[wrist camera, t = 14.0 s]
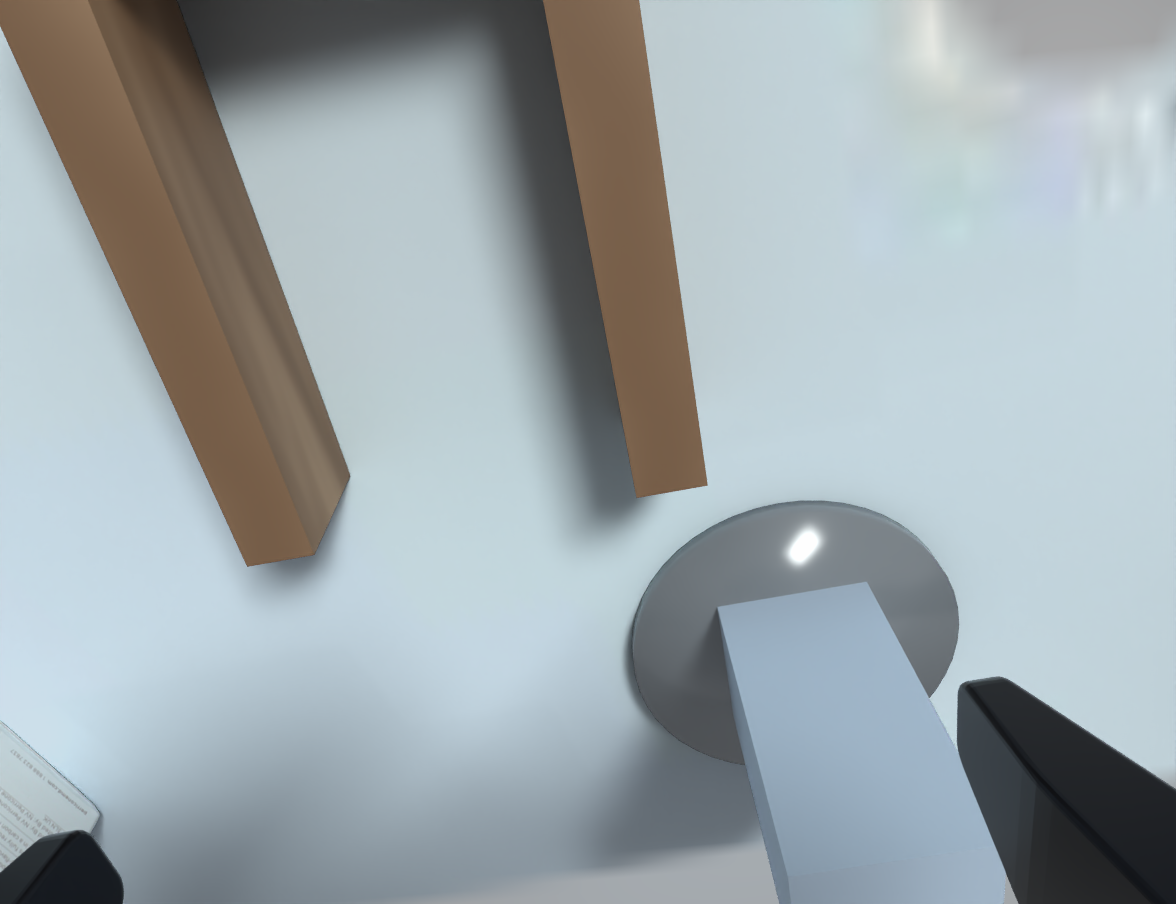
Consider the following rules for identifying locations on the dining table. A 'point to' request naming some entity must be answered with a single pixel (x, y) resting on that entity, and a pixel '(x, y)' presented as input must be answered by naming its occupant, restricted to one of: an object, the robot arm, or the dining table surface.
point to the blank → (851, 758)
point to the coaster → (771, 569)
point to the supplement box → (35, 799)
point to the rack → (248, 278)
